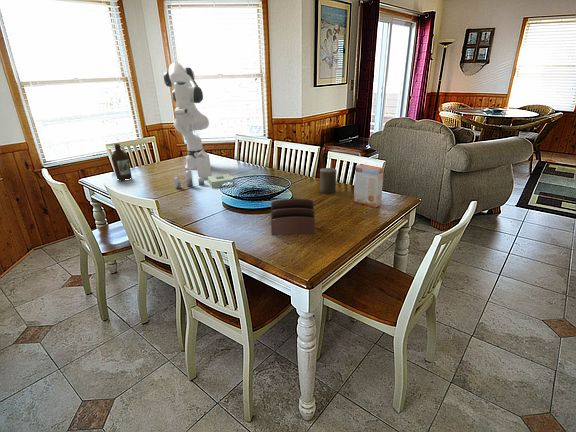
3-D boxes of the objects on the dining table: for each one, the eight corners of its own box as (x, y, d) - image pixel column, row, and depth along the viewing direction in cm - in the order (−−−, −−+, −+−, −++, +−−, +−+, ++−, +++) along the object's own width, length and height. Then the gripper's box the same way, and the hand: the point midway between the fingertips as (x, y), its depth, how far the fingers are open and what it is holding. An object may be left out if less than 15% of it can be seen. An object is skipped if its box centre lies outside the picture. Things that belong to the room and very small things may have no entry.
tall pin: (187, 185, 223) (184, 171, 219) (192, 185, 224) (190, 170, 220) (187, 187, 220) (185, 172, 216) (193, 186, 221) (191, 171, 217)
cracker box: (381, 205, 184) (384, 167, 176) (375, 208, 180) (378, 170, 172) (359, 199, 193) (361, 163, 185) (353, 202, 189) (355, 165, 181)
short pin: (198, 184, 226) (197, 177, 224) (204, 183, 227) (203, 176, 225) (199, 185, 222) (198, 178, 221) (205, 185, 224) (204, 177, 222)
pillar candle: (334, 194, 201) (335, 170, 195) (318, 193, 203) (319, 169, 197) (336, 189, 210) (337, 165, 204) (320, 188, 212) (320, 165, 206)
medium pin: (175, 187, 221) (173, 177, 218) (180, 186, 222) (179, 176, 219) (175, 189, 217) (173, 178, 215) (181, 188, 219) (179, 177, 216)
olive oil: (114, 179, 240) (106, 144, 231) (129, 176, 247) (122, 141, 237) (119, 182, 233) (111, 146, 223) (135, 179, 240) (127, 143, 230)
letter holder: (272, 226, 163) (270, 198, 157) (313, 225, 163) (313, 197, 157) (271, 235, 154) (270, 206, 148) (315, 234, 154) (315, 205, 148)
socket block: (208, 182, 230) (207, 176, 228) (228, 179, 234) (228, 173, 233) (212, 188, 218) (211, 182, 216) (233, 185, 222) (233, 179, 221)
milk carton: (211, 175, 244) (208, 149, 236) (208, 178, 237) (205, 151, 230) (201, 175, 244) (198, 149, 237) (198, 178, 238) (195, 151, 230)
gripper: (186, 108, 220) (189, 130, 225) (172, 111, 201) (176, 134, 206) (195, 108, 219) (198, 130, 224) (182, 110, 200) (186, 134, 206)
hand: (187, 132), depth 215 cm, fingers open, 8 cm apart
